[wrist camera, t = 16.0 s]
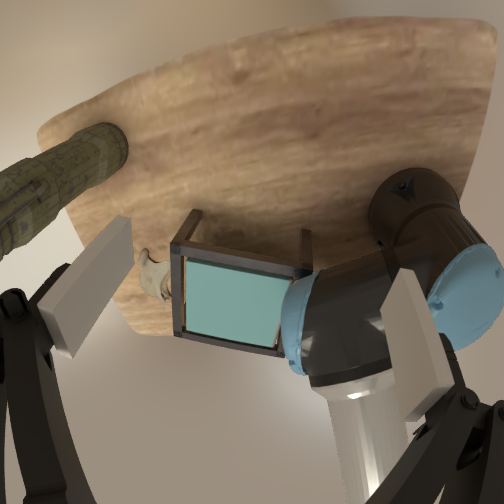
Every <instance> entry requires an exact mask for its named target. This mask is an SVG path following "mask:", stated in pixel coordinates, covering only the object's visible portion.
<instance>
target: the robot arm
mask: <svg viewBox="0 0 504 504" xmlns="http://www.w3.org/2000/svg"><path fill="white" fill-rule="evenodd" d="M369 224H370V228H371V231H372V234H373V237H374V239H375V241H376V243H377V244H378V246H379V247H380V248H381V251H378V252H376V253H373V254H370V255H367V256H364V257H361V258H358V259H355V260H353V261H350V262H347V263H344V264H341V265H338V266H335V267H332V268H329V269H326V270H324V269H321V270H318V271H317V272H316V273H315V274H312V275H309V276H307V277H304V278H302V279H299V280H297V281H295V282H293V283H292V284H291V285H290V286H289V287H288V289H287V291H286V293H285V295H284V299H283V301H282V307H281V336H282V343H283V348H284V352H285V356H286V358H287V359H289V366H290V367H291V369H292V370H293V371H294V372H295V373H296V374H299V375H300V374H301V375H303V376H306V375H308V376H309V380H310V385H311V388H312V390H314V391H315V392H317V393H318V394H320V395H322V396H323V397H325V398H326V399H327V402H328V407H329V411H330V416H331V421H332V426H333V431H334V436H335V440H336V446H337V451H338V457H339V462H340V467H341V473H342V478H343V484H344V489H345V495H346V501H347V504H433V503H434V502H435V500H436V499H437V497H438V495H439V494H440V492H441V490H442V488H443V486H444V485H445V487H444V490H443V493H442V496H441V499H440V502H439V504H504V400H499V401H497V402H496V403H495V404H494V405H493V406H489V405H487V404H483V403H481V402H480V401H479V398H478V396H477V395H476V394H475V392H473V391H472V390H470V389H469V388H466V386H465V382H464V379H463V376H462V373H461V370H460V367H459V364H458V361H457V358H456V355H455V353H454V351H456V350H459V349H461V348H464V347H466V346H468V345H470V344H471V343H473V342H474V341H475V340H477V339H479V337H481V336H482V335H483V334H484V333H485V332H486V331H487V330H488V329H489V328H490V327H491V326H492V324H493V323H494V321H495V320H496V318H497V317H498V316H499V314H500V312H501V310H502V308H503V306H504V268H503V267H502V265H501V263H500V261H499V260H498V258H497V256H496V253H495V252H494V250H493V249H492V248H491V247H490V246H488V244H487V243H486V242H485V241H484V239H483V238H482V237H481V236H480V235H479V233H478V232H477V231H476V230H475V229H474V228H473V226H472V225H471V224H470V223H469V222H468V221H467V219H466V218H465V217H464V216H463V215H462V213H461V210H460V205H459V201H458V197H457V195H456V193H455V191H454V190H453V188H452V187H451V185H450V184H449V183H448V182H447V181H446V180H445V179H444V178H442V177H441V176H440V175H439V174H437V173H435V172H433V171H431V170H427V169H422V168H412V169H407V170H403V171H401V172H398V173H396V174H394V175H393V176H391V177H390V178H388V179H387V180H386V181H385V182H384V183H383V184H382V185H381V186H380V187H379V189H378V190H377V192H376V193H375V195H374V197H373V199H372V202H371V205H370V210H369ZM134 264H135V261H134V251H133V240H132V227H131V218H129V217H123V216H116V217H115V218H114V219H113V220H112V221H111V222H110V223H109V224H108V225H107V226H106V228H105V229H104V230H103V231H102V232H101V233H100V234H99V235H98V236H97V237H96V238H95V239H94V240H93V241H92V242H91V243H90V244H89V245H88V246H87V247H86V248H85V250H84V251H83V252H82V253H81V254H80V255H79V256H78V257H77V258H76V259H75V261H74V262H73V263H72V264H68V263H65V264H63V265H62V266H60V267H58V268H57V269H56V270H55V271H54V272H53V273H52V274H51V276H50V277H49V278H48V279H47V280H46V281H45V282H44V284H42V286H41V287H40V288H39V289H38V290H37V291H36V293H35V294H34V295H33V296H32V297H31V298H30V300H29V301H28V300H27V298H26V295H25V293H24V291H22V290H21V289H18V288H12V289H9V290H7V291H5V292H3V293H2V294H1V295H0V504H6V496H5V477H4V475H5V474H4V443H5V423H6V410H7V400H8V408H9V415H10V422H11V428H12V433H13V439H14V444H15V449H16V453H17V458H18V462H19V466H20V470H21V474H22V477H23V481H24V485H25V488H26V496H25V497H24V499H23V504H97V503H96V501H95V499H94V497H93V495H92V492H91V490H90V487H89V485H88V483H87V480H86V477H85V475H84V472H83V469H82V467H81V464H80V461H79V458H78V455H77V453H76V450H75V446H74V443H73V440H72V437H71V434H70V430H69V427H68V423H67V420H66V416H65V413H64V409H63V405H62V401H61V396H60V392H59V388H58V383H57V378H56V374H55V368H54V363H53V358H52V354H51V352H50V349H51V348H52V346H53V345H55V347H56V349H57V351H58V353H59V354H62V355H64V356H67V357H69V358H72V359H73V358H74V356H75V354H76V353H77V351H78V349H79V348H80V346H81V345H82V343H83V341H84V339H85V338H86V336H87V335H88V333H89V331H90V330H91V328H92V327H93V325H94V324H95V322H96V320H97V319H98V317H99V316H100V314H101V313H102V311H103V309H104V308H105V307H106V305H107V303H108V302H109V301H110V299H111V298H112V296H113V295H114V293H115V292H116V290H117V289H118V287H119V286H120V284H121V283H122V281H123V280H124V278H125V277H126V275H127V274H128V273H129V271H130V270H131V268H132V267H133V265H134ZM424 414H425V418H426V422H425V423H424V424H423V425H421V426H420V427H419V428H418V429H417V430H416V431H415V432H414V433H413V435H415V434H416V433H417V434H416V436H415V437H414V439H413V440H412V442H411V443H410V445H409V443H408V436H407V430H406V423H405V422H413V421H418V420H419V419H420V418H421V417H422V416H423V415H424ZM445 483H446V484H445Z"/></svg>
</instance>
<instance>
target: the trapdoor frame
mask: <svg viewBox="0 0 504 504" xmlns="http://www.w3.org/2000/svg"><path fill="white" fill-rule="evenodd" d="M201 217H202V211H201V210H195V209H193V210H192V211H191V213H190V214H189V216H188V217H187V219H186V220H185V222H184V223H183V225H182V226H181V228H180V229H179V231H178V232H177V234H176V235H175V237H174V238H173V240H172V242H171V243H170V267H171V296H172V316H173V333H174V336H176V337H180V338H185V339H189V340H193V341H198V342H202V343H207V344H211V345H216V346H221V347H226V348H231V349H236V350H241V351H246V352H252V353H257V354H263V355H268V356H274V357H280V358H285V352H284V348H283V343H282V336H281V326H280V329H279V333H278V338H277V344H275V346H274V347H267V346H261V345H256V344H250V343H245V342H240V341H235V340H230V339H225V338H220V337H215V336H211V335H206V334H201V333H197V332H192V331H188V330H186V302H185V304H184V256H187V257H193V258H198V259H203V260H208V261H213V262H218V263H223V264H229V265H234V266H239V267H245V268H250V269H255V270H260V271H266V272H271V273H277V274H282V275H287V276H293V277H297V280H299V279H302V278H304V277H307V276H309V275H312V272H313V257H312V236H311V230H306V229H302V230H301V234H300V261H295V260H289V259H284V258H279V257H273V256H268V255H262V254H257V253H252V252H246V251H241V250H236V249H230V248H225V247H220V246H214V245H209V244H203V243H198V242H193V241H189V240H190V238H191V236H192V234H193V233H194V231H195V229H196V227H197V226H198V224H199V222H200V220H201Z"/></svg>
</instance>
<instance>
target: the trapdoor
mask: <svg viewBox="0 0 504 504" xmlns="http://www.w3.org/2000/svg"><path fill="white" fill-rule="evenodd" d="M292 283H293V277H291V276H286V275H280V274H275V273H270V272H264V271H259V270H254V269H248V268H243V267H238V266H232V265H227V264H222V263H217V262H212V261H206V260H201V259H196V258H191V257H188V259H187V261H186V330H188V331H192V332H197V333H201V334H206V335H211V336H215V337H220V338H225V339H230V340H235V341H240V342H245V343H250V344H256V345H261V346H267V347H274V346H275V343H276V339H277V336H278V333H279V329H280V326H281V307H282V301H283V299H284V295H285V293H286V291H287V289H288V287H289V286H290V285H291V284H292Z"/></svg>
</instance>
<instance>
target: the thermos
mask: <svg viewBox="0 0 504 504" xmlns="http://www.w3.org/2000/svg"><path fill="white" fill-rule="evenodd" d="M127 156H128V143H127V139H126V137H125V135H124V134H123V132H122V131H121V130H120V129H119V128H118V127H117V126H115V125H113V124H111V123H100V124H97V125H93V126H90V127H88V128H85V129H83V130H80V131H78V132H76V133H75V134H74V135H73V136H72V137H71V138H70V139H69V140H67V141H65V142H63V143H61V144H59V145H57V146H55V147H53V148H51V149H49V150H47V151H45V152H43V153H41V154H39V155H37V156H35V157H33V158H25V159H23V160H20V161H19V162H17V163H15V164H13V165H11V166H10V167H8V168H6V169H5V170H3V171H1V172H0V261H1V260H2V259H3V256H4V255H7V254H9V253H10V252H11V251H12V250H13V249H15V248H18V247H20V246H23V245H26V244H27V243H28V242H29V241H31V240H32V239H33V238H34V237H35V236H36V235H37V234H38V233H39V232H41V231H42V230H43V229H44V228H45V227H46V226H48V225H49V224H50V223H51V222H52V221H53V220H54V219H55V218H56V217H57V215H58V213H59V211H60V210H61V209H62V208H63V207H65V206H66V205H67V204H68V203H70V202H71V201H72V200H74V199H75V198H76V197H77V196H79V195H80V194H81V193H83V192H84V191H85V190H87V189H89V188H92V187H94V186H96V185H99V184H101V183H102V182H103V181H105V180H106V179H108V178H109V177H110V176H112V175H113V174H114V173H115V172H116V171H117V170H118V169H120V168H121V167H122V166H123V165H124V163H125V162H126V159H127Z"/></svg>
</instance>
